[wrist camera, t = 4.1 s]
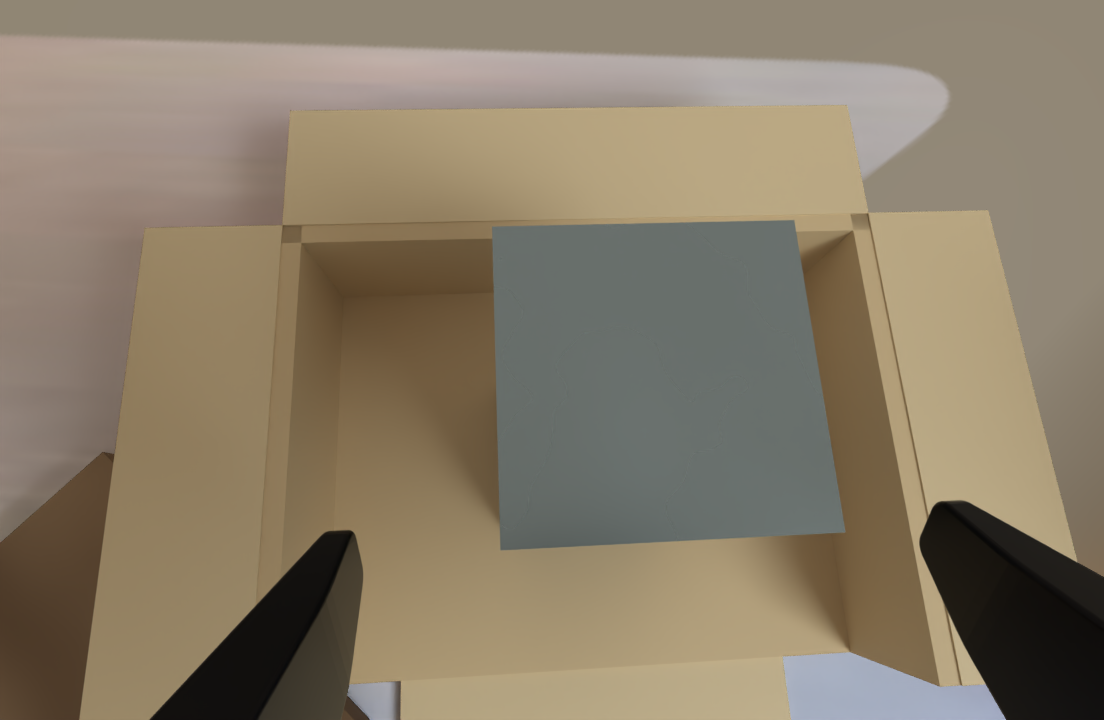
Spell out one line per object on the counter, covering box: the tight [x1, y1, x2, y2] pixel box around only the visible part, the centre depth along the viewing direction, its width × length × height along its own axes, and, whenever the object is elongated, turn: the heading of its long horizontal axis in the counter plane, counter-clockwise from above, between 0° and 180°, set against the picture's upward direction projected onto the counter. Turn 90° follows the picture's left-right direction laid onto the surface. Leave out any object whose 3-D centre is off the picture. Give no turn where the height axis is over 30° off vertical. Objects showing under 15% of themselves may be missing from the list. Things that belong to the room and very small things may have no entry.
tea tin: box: [492, 220, 845, 550], centre depth 14 cm, size 5×5×11 cm
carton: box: [79, 105, 1077, 720], centre depth 17 cm, size 22×23×4 cm
